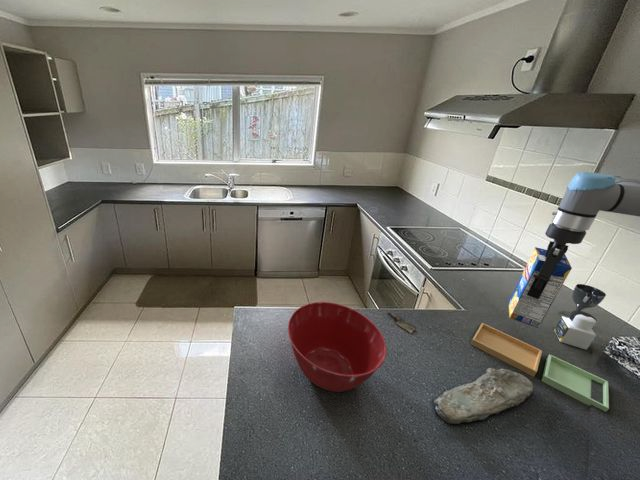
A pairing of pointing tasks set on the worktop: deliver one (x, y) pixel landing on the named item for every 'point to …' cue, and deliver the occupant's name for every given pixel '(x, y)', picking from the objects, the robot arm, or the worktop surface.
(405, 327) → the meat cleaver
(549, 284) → the beverage box
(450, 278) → the worktop surface
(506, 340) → the oak tray
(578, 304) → the wine glass
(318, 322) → the mixing bowl
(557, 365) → the green tray
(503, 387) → the long grey stone
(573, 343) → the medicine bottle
